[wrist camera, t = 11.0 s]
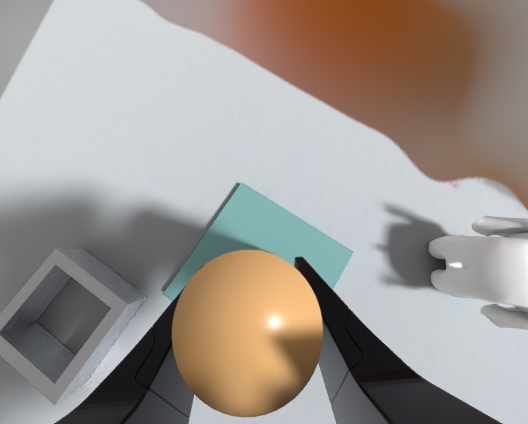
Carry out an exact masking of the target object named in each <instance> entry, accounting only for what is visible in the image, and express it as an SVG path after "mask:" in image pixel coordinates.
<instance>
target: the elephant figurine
mask: <svg viewBox="0 0 528 424" xmlns="http://www.w3.org/2000/svg"><path fill="white" fill-rule="evenodd" d="M472 229H473V230H474V231H475V232H477V233H480V234H483V235H486V236H491V235H499V236H503V237H481V236H454V235H450V236H443V237H440V238H437V239H434V240H432V241H431V242H430V243H429V252H430V254H431V255H432V256H433V257H435V258H437V259H446V268H447V269H446V270H440V269H438V270H435V271H433V272H432V274H431V282H432V284H433V285H434V287H435V288H437V289H438V290H440V291H442V292H444V293H446V294H449V295H452V296H455V297H461V298H473V299H480V300H483V301H488V302H493V303H503V304H509V305H513V306H515V308H504V307H501V306H499V305H496V304H492V305H486V306H483V307H482V308H481V314H483V315H485V316H486V317H487V318H488V319H489V320H491V321H492V322H493V323H494V324H495V325H497V326H499V327H503V328H514V329H522V330H528V219H520V218H503V217H491V216H485V217H482V218H481V219H479V220H478V221H477V222H476V223H473V224H472Z"/></svg>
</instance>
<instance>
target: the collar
mask: <svg viewBox="0 0 528 424" xmlns="http://www.w3.org/2000/svg"><path fill="white" fill-rule="evenodd" d="M71 277H72V278H73V279H75V280H76V281H77V282H78V283H80V284H81V285H82V286H83V287H85V288H86V289H87V290H88V291H90V292H91V293H92V294H94V295H95V296H96V297H97V298H99V299H100V300H101V301H102V302H104V303H105V304H106V305H107V306H109V307H110V308H111V309H110V310H109V312H108V313H107V314H106V316H105V317H104V318H103V320H102V321H101V322H100V324H99V325H98V326H97V328H96V329H95V330H94V332H93V333H92V334H91V336H90V337H89V339H88V340H87V341H86V343H85V344H84V345H83V347H82V348H81V349H80V351H79V352H78V353H77V355H75V354H73V353H72V352H71V351H70V350H69V349H68V348H66V347H65V346H64V345H63V344H62V343H61V342H59V341H58V340H57V339H56V338H55V337H54V336H52V335H51V334H50V333H49V332H48V331H47V330H45V329H44V328H43V327H42V326H41V325H40V324H38V323H37V322H36V321H37V319H38V318H39V317H40V316H41V315H42V313H43V312H44V311H45V310H46V308H47V307H48V306H49V305H50V303H51V302H52V301H53V300H54V298H55V297H56V296H57V295H58V293H59V292H60V291H61V290H62V288H63V287H64V286H65V285H66V283H67V282H68V281H69V280H70V279H71ZM146 298H147V296H146V295H144V294H143V293H142V292H140V291H139V290H138V289H136V288H135V287H134V286H132V285H131V284H130V283H128V282H127V281H126V280H125V279H123V278H122V277H121V276H119V275H118V274H117V273H115V272H114V271H113V270H111V269H110V268H109V267H107V266H106V265H105V264H103V263H102V262H101V261H100V260H98V259H97V258H96V257H94V256H93V255H92V254H90V253H89V252H88V251H86V250H85V249H84V248H55V249H54V251H53V252H52V253H51V254H50V255H49V256H48V258H47V259H46V260H45V261H44V262H43V264H42V265H41V266H40V267H39V268H38V270H37V271H36V272H35V273H34V274H33V275H32V277H31V278H30V279H29V280H28V281H27V283H26V284H25V285H24V286H23V287H22V288H21V290H20V291H19V292H18V293H17V294H16V296H15V297H14V298H13V299H12V300H11V301H10V303H9V304H8V305H7V306H6V307H5V309H4V310H3V311H2V312H1V313H0V356H1V357H2V358H3V359H4V360H5V361H7V362H8V363H9V364H10V365H11V366H12V367H13V368H14V369H15V370H16V371H17V372H19V373H20V374H21V375H22V376H23V377H24V378H25V379H26V380H27V381H28V382H30V383H31V384H32V385H33V386H34V387H35V388H36V389H37V390H38V391H39V392H40V393H42V394H43V395H44V396H45V397H46V398H47V399H48V400H49V401H50V402H51V403H53V404H54V405H56V404H57V403H58V402H60V401H61V400H62V399H64V398H65V397H66V396H68V395H69V394H70V393H72V392H73V391H75V390H76V389H77V388H79V387H80V386H81V385H83V384H84V383H85V382H86V381H87V380H88V379H89V377H90V376H91V374H92V373H93V372H94V370H95V369H96V367H97V366H98V365H99V363H100V362H101V360H102V359H103V358H104V356H105V355H106V354H107V352H108V351H109V349H110V348H111V347H112V345H113V344H114V342H115V341H116V340H117V338H118V337H119V335H120V334H121V333H122V331H123V330H124V328H125V327H126V326H127V324H128V323H129V321H130V320H131V319H132V317H133V316H134V315H135V313H136V312H137V310H138V309H139V308H140V306H141V305H142V303H143V302H144V301H145V299H146Z"/></svg>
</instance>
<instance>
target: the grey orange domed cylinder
mask: <svg viewBox="0 0 528 424" xmlns="http://www.w3.org/2000/svg"><path fill="white" fill-rule="evenodd" d="M322 342H323V324H322V316H321V311H320V307H319V304H318V301H317V298H316V296H315V294H314V292H313V290H312V288H311V286H310V285H309V283H308V282H307V280H306V279H305V278H304V277H303V275H302V274H301V273H300V272H299V271H298V270H297V269H296V268H295V267H294V266H293V265H291V264H290V263H288V262H287V261H285V260H284V259H282V258H280V257H278V256H277V255H275V254H273V253H271V252H269V251H266V250H238V251H233V252H229V253H226V254H223V255H221V256H219V257H217V258H215V259H213V260H211V261H210V262H208V263H207V264H205V265H204V266H203V267H202V268H201V269H199V270H198V271H197V272H196V274H195V275H194V276H193V277H192V278H191V279H190V281H189V282H188V283H187V285H186V286H185V288H184V290H183V292H182V293H181V296H180V298H179V300H178V303H177V306H176V309H175V313H174V317H173V323H172V346H173V352H174V357H175V360H176V363H177V366H178V369H179V371H180V373H181V375H182V377H183V379H184V381H185V382H186V384H187V385H188V387H189V388H190V389H191V391H192V392H193V393H194V394H195V395H196V396H197V397H198V398H199V399H200V400H201V401H203V402H204V403H205V404H207V405H208V406H210V407H211V408H213V409H215V410H217V411H219V412H222V413H224V414H228V415H232V416H238V417H256V416H261V415H265V414H268V413H271V412H274V411H276V410H278V409H280V408H281V407H283V406H285V405H286V404H288V403H289V402H290V401H292V400H293V399H294V398H295V397H296V396H297V395H298V394H299V393H300V392H301V391H302V390H303V389H304V387H305V386H306V385H307V383H308V382H309V380H310V378H311V377H312V375H313V373H314V371H315V368H316V366H317V364H318V361H319V357H320V353H321V349H322Z"/></svg>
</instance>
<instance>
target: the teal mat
mask: <svg viewBox="0 0 528 424" xmlns="http://www.w3.org/2000/svg"><path fill="white" fill-rule="evenodd" d="M238 250H266V251H269V252H271V253H273V254H275V255H277V256H278V257H280V258H282V259H284V260H285V261H287V262H288V263H290V264H291V265H293V266H294V262H295V257H299V256H302V257H304V259H305V260H306V261H307V262H308V263H309V264H310V265H311V266H312V267H313V269H314V270H315V271H316V272H317V273H318V274H319V275H320V276H321V277H322V279H323V280H324V281H325V282H326V283H327V284H328V285H329V286H330V287H331V289H332V290H333V289H334V287H335V285H336V283H337V281H338V280H339V278H340V276H341V274H342V272H343V270H344V268H345V267H346V265H347V263H348V261H349V259H350V257H351V256H352V254H353V251H351V250H350V249H348V248H347V247H345V246H343V245H342V244H340V243H339V242H337V241H335V240H334V239H332V238H331V237H329V236H327V235H326V234H324V233H323V232H321V231H319V230H318V229H316V228H315V227H313V226H311V225H310V224H308V223H307V222H305V221H303V220H302V219H300V218H299V217H297V216H295V215H294V214H292V213H290V212H289V211H287V210H286V209H284V208H282V207H281V206H279V205H278V204H276V203H274V202H273V201H271V200H270V199H268V198H266V197H265V196H263V195H262V194H260V193H258V192H257V191H255V190H254V189H252V188H250V187H249V186H247V185H246V184H244V183H241V184H240V185H239V187H238V188H237V190H236V191H235V193H234V194H233V195H232V197H231V198H230V200H229V201H228V202H227V204H226V205H225V207H224V208H223V210H222V211H221V212H220V214H219V215H218V217H217V218H216V220H215V221H214V222H213V224H212V225H211V227H210V228H209V229H208V231H207V232H206V234H205V235H204V237H203V238H202V239H201V241H200V242H199V244H198V245H197V246H196V248H195V249H194V251H193V252H192V254H191V255H190V256H189V258H188V259H187V261H186V262H185V263H184V265H183V266H182V268H181V269H180V271H179V272H178V273H177V275H176V276H175V278H174V279H173V281H172V282H171V283H170V285H169V286H168V288H167V289H166V290H165V292H164V293H163V294H164V295H165V296H166V297H168V298H169V299H170V300H172V301H173V300H174V299H175V298H176V297H177V295H178V294H179V293H180V292H181V290H182V289H183V288H184V287H185V286H186V284H187V283H188V282H189V281H190V279H191V278H192V277H193V276H194V275H195V273H196V272H197V271H198V270H199V268H200V267H201V266H202V265H205V264H207V263H208V262H210V261H211V260H213V259H215V258H217V257H219V256H221V255H223V254H226V253H229V252H233V251H238Z"/></svg>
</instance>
